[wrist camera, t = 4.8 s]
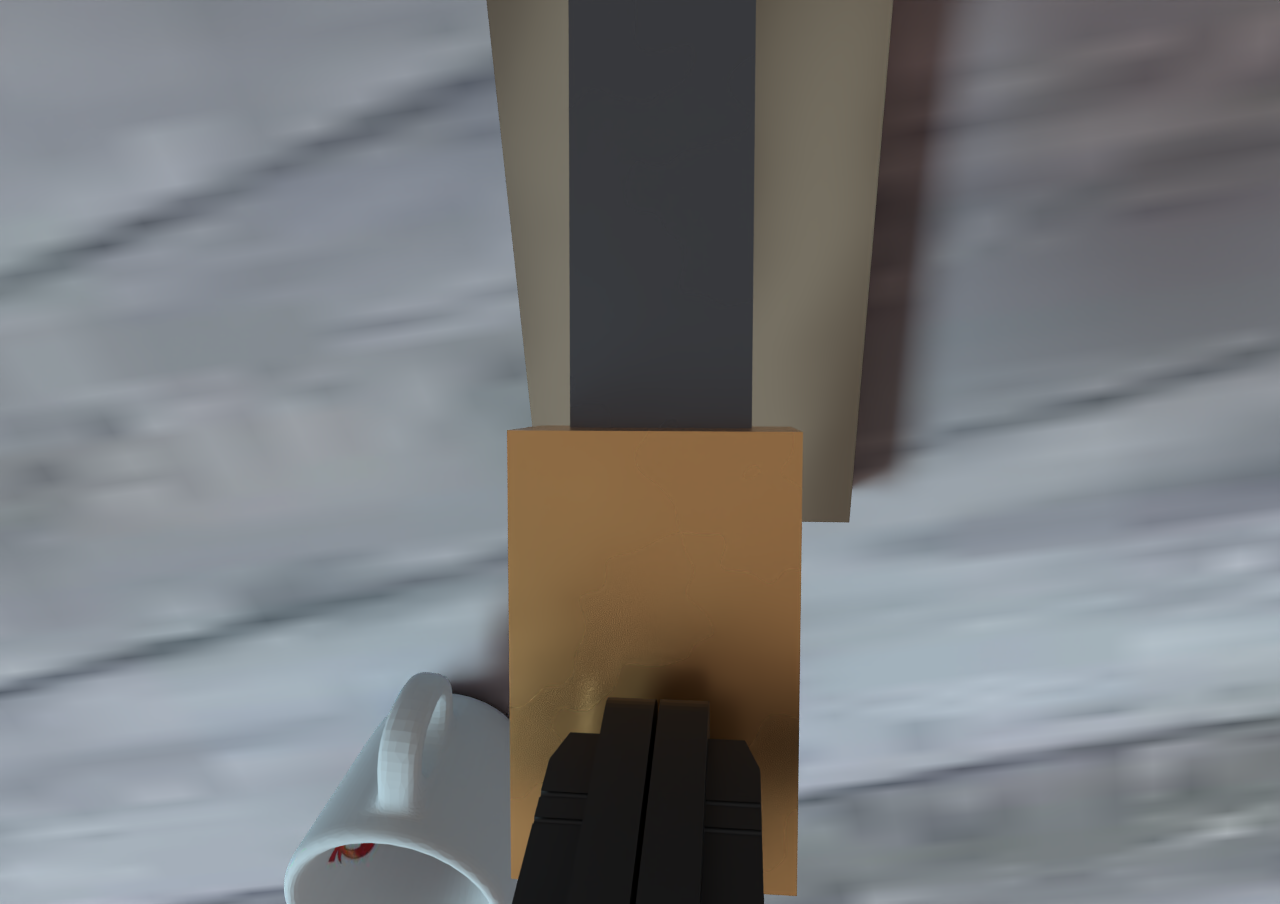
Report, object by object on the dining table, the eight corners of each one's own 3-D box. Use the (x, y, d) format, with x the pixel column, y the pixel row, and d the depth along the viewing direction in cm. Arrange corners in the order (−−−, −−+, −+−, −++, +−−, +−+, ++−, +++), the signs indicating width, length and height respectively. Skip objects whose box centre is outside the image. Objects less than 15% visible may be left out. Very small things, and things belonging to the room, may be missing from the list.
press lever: (550, 790, 16) (510, 878, 13) (543, -557, 15) (496, -798, 12) (783, 802, 16) (796, 895, 13) (801, -587, 14) (820, -845, 11)
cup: (353, 600, 33) (251, 759, 26) (554, 623, 33) (506, 789, 26) (375, 793, 38) (295, 970, 31) (550, 815, 38) (509, 998, 31)
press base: (553, 487, 30) (503, 622, 23) (449, -570, 18) (288, -899, 12) (842, 491, 29) (874, 633, 22) (929, -625, 17) (1053, -1024, 11)
